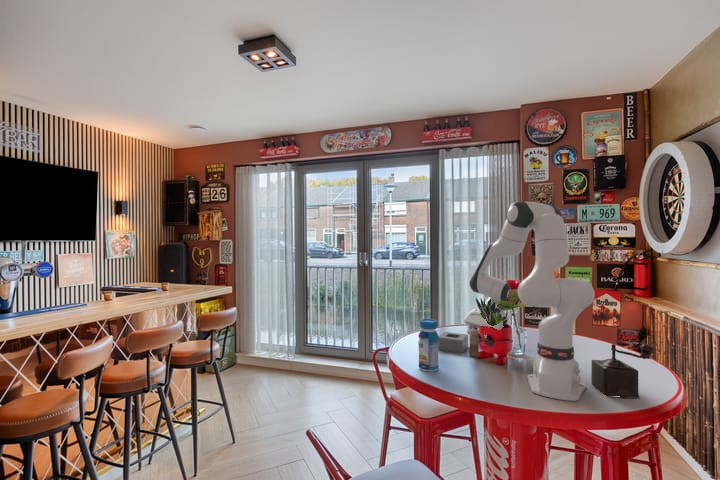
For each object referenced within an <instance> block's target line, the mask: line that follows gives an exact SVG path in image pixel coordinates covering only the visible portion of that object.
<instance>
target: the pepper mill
mask: <svg viewBox="0 0 720 480" xmlns="http://www.w3.org/2000/svg"><path fill="white" fill-rule="evenodd" d="M616 347H617V346H616V344H615V343H611V348H610V350H611V352H612V353H611V358H606V359H591V383H590V384H591V386H592V385H593V386H594V387H595V388H594V387H593V386H592V387H593V388H594V389H596V390H597V389H598V390H599V391H600V392H599V391H598V390H597V391H598V392H599V393H601V392H602V393H603V394H604V395H606V396H620V397H639V398H640V395H639V394H640V393H639V370H637V369H636V368H634V367H632V366H631V365H628V364H627V363H625V362H623V361H621V360H620V359H617V358H616V352H617V353H619V354H624V355H627V356H628V355H629V356H630V357H631V356H632V357H635V358H637V359H643V360H646V359H647V360H651V355H652V354H654V353H655V348H654V346H652V345H651V344H647V343H643V344H642V343H641V344H640V346H639V349H640V351H641V353H640V354H635V353H633V352H629V351H624V350H618V349H616ZM602 393H601V394H602ZM603 394H602V395H603ZM604 395H603V396H604ZM606 396H605V397H606Z"/></svg>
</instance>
